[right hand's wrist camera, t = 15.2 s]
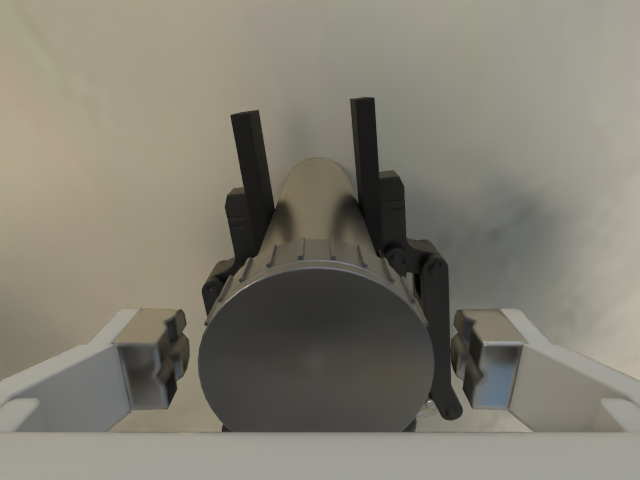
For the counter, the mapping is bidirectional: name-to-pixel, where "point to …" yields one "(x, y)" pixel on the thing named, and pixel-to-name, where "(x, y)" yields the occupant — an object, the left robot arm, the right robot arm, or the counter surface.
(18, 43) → the counter surface
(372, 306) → the lid
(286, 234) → the jar
